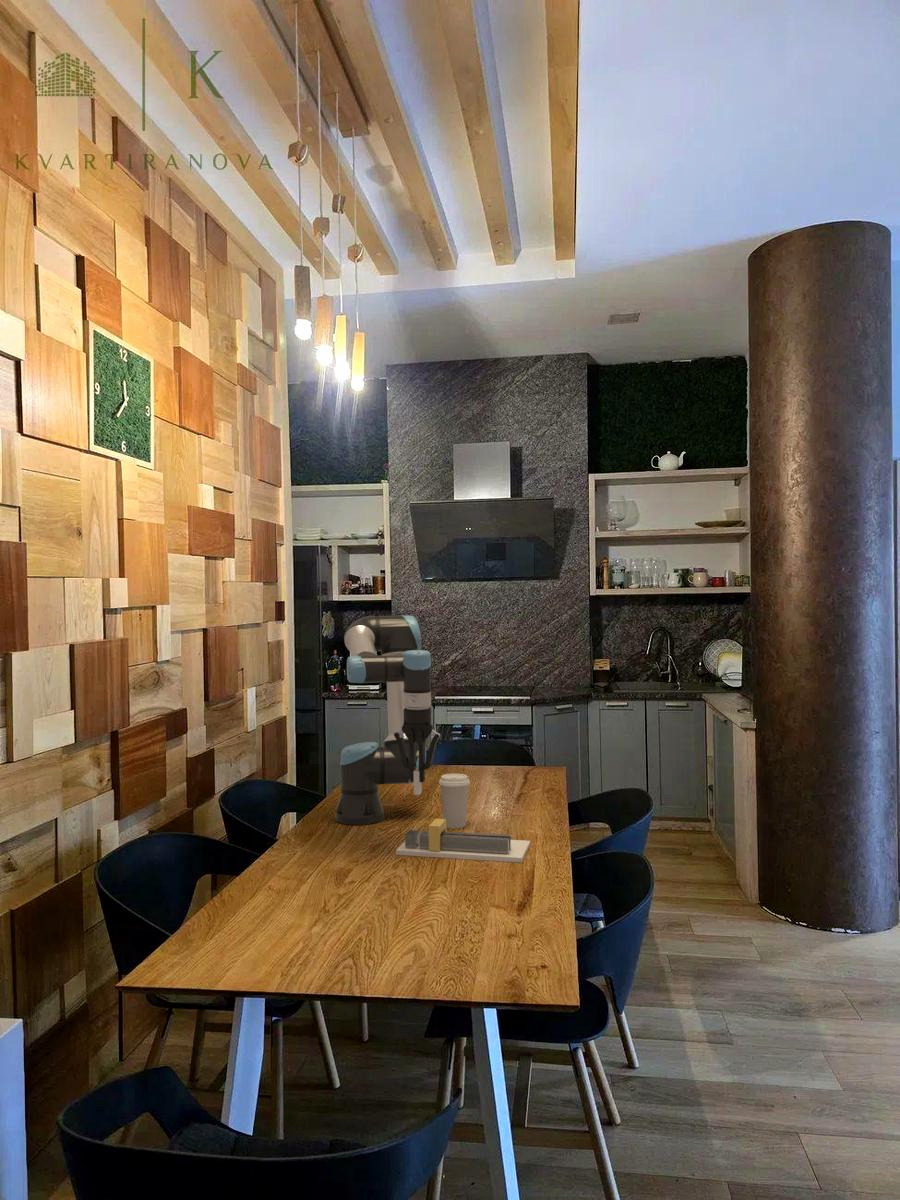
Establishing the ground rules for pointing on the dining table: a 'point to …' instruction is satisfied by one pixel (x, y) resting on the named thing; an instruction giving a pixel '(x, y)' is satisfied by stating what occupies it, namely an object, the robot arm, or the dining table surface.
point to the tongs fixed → (459, 842)
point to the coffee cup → (454, 799)
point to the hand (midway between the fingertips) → (417, 793)
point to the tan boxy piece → (436, 833)
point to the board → (471, 853)
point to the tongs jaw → (478, 835)
